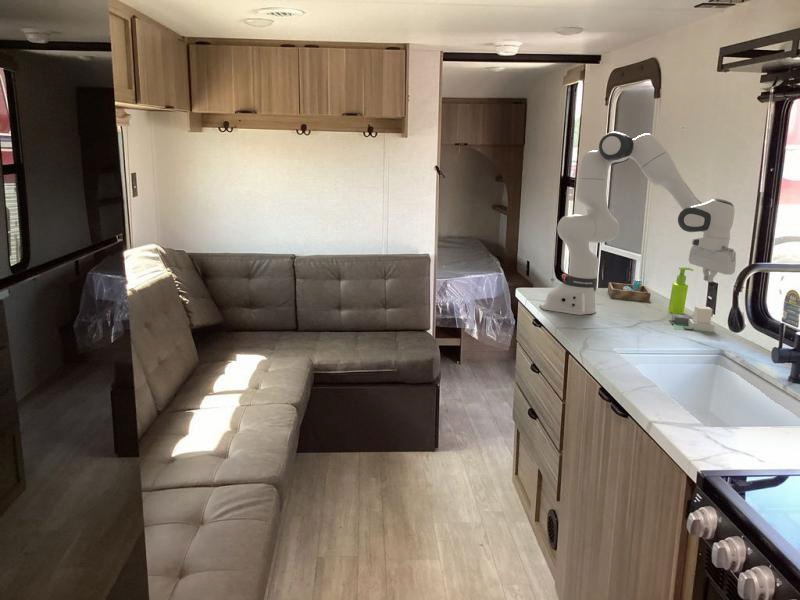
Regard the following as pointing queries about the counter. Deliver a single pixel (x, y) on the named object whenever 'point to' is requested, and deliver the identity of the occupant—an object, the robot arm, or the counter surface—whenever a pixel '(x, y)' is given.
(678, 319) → the grey sponge
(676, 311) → the soap dispenser
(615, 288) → the wooden tray
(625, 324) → the counter surface
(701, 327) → the compartment tray
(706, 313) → the plug
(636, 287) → the teal container
